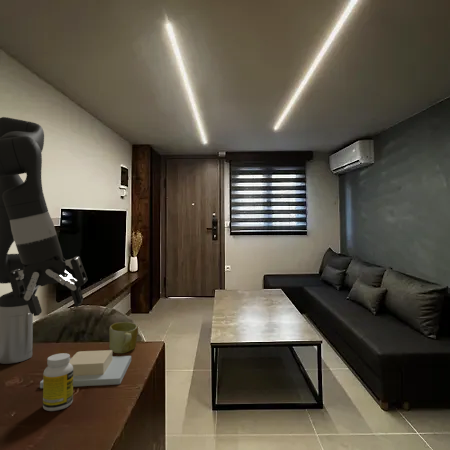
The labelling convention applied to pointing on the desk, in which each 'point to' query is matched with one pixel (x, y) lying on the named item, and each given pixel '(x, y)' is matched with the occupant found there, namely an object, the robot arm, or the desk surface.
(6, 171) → the robot arm
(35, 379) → the desk surface
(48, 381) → the pill bottle
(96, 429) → the desk surface
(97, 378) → the board
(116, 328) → the mug
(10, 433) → the desk surface
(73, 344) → the desk surface
